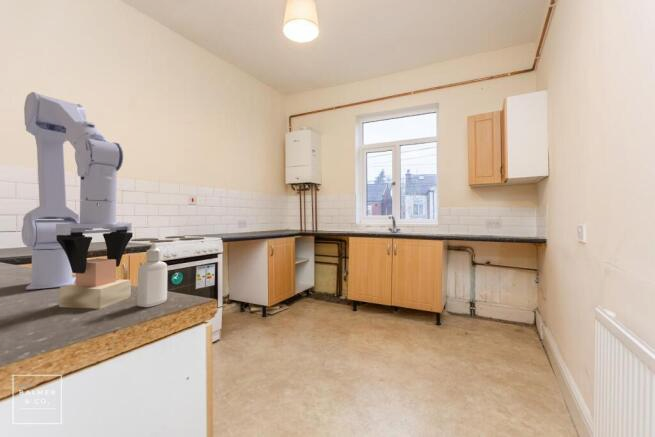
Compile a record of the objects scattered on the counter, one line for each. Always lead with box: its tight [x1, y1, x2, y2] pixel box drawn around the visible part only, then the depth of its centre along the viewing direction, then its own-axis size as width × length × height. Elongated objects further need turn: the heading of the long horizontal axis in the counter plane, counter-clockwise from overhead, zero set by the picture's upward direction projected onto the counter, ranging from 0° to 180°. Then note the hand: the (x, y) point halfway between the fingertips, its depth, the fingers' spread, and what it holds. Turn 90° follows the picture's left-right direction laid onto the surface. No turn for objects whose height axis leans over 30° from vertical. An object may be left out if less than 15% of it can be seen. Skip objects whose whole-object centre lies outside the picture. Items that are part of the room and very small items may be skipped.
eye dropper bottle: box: [136, 242, 168, 308], centre depth 60 cm, size 4×6×12 cm
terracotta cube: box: [75, 258, 117, 287], centre depth 60 cm, size 4×4×4 cm
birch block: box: [58, 278, 132, 310], centre depth 60 cm, size 8×8×4 cm
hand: (97, 269), depth 60 cm, fingers open, 7 cm apart
